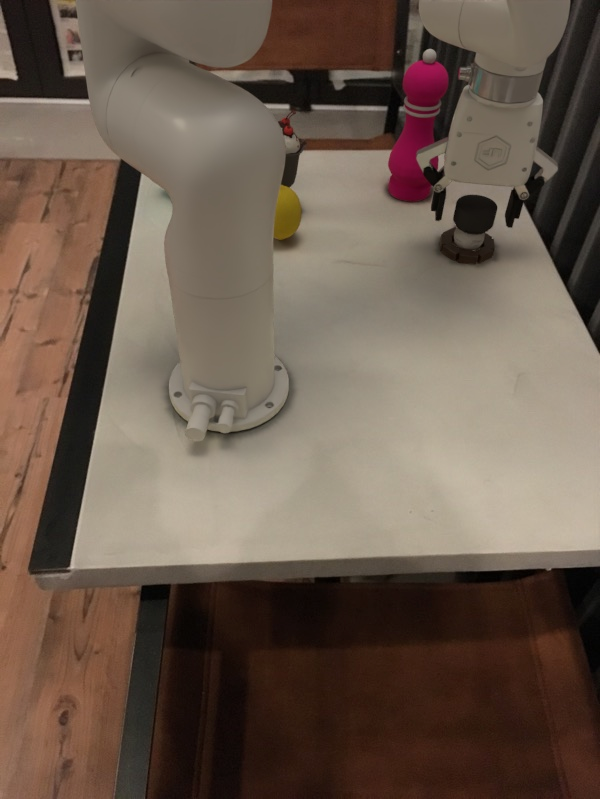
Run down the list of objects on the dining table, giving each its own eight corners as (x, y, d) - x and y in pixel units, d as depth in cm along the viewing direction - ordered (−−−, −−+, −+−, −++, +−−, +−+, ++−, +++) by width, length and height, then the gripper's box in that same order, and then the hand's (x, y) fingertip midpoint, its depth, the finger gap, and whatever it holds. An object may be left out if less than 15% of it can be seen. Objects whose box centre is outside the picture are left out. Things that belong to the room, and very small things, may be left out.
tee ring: (494, 266, 89) (496, 258, 89) (440, 261, 90) (441, 253, 89) (490, 236, 94) (492, 229, 93) (439, 232, 95) (441, 224, 94)
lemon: (296, 253, 90) (297, 199, 85) (255, 248, 91) (254, 193, 85) (304, 231, 94) (306, 177, 88) (265, 226, 95) (264, 172, 89)
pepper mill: (432, 180, 105) (457, 41, 90) (434, 205, 100) (460, 61, 85) (385, 177, 105) (402, 37, 91) (384, 201, 100) (402, 58, 86)
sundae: (304, 224, 95) (307, 118, 84) (255, 223, 95) (253, 116, 84) (304, 200, 100) (308, 96, 89) (258, 199, 100) (256, 94, 89)
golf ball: (460, 237, 94) (466, 211, 91) (486, 247, 92) (493, 221, 89) (445, 249, 92) (451, 223, 89) (471, 260, 90) (478, 234, 87)
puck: (493, 238, 88) (498, 217, 85) (452, 234, 88) (457, 213, 86) (491, 216, 91) (496, 196, 89) (451, 213, 92) (455, 192, 89)
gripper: (426, 88, 74) (405, 228, 87) (590, 101, 73) (544, 241, 85) (426, 62, 79) (406, 198, 92) (579, 74, 78) (537, 209, 91)
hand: (473, 218), depth 89 cm, fingers open, 8 cm apart
